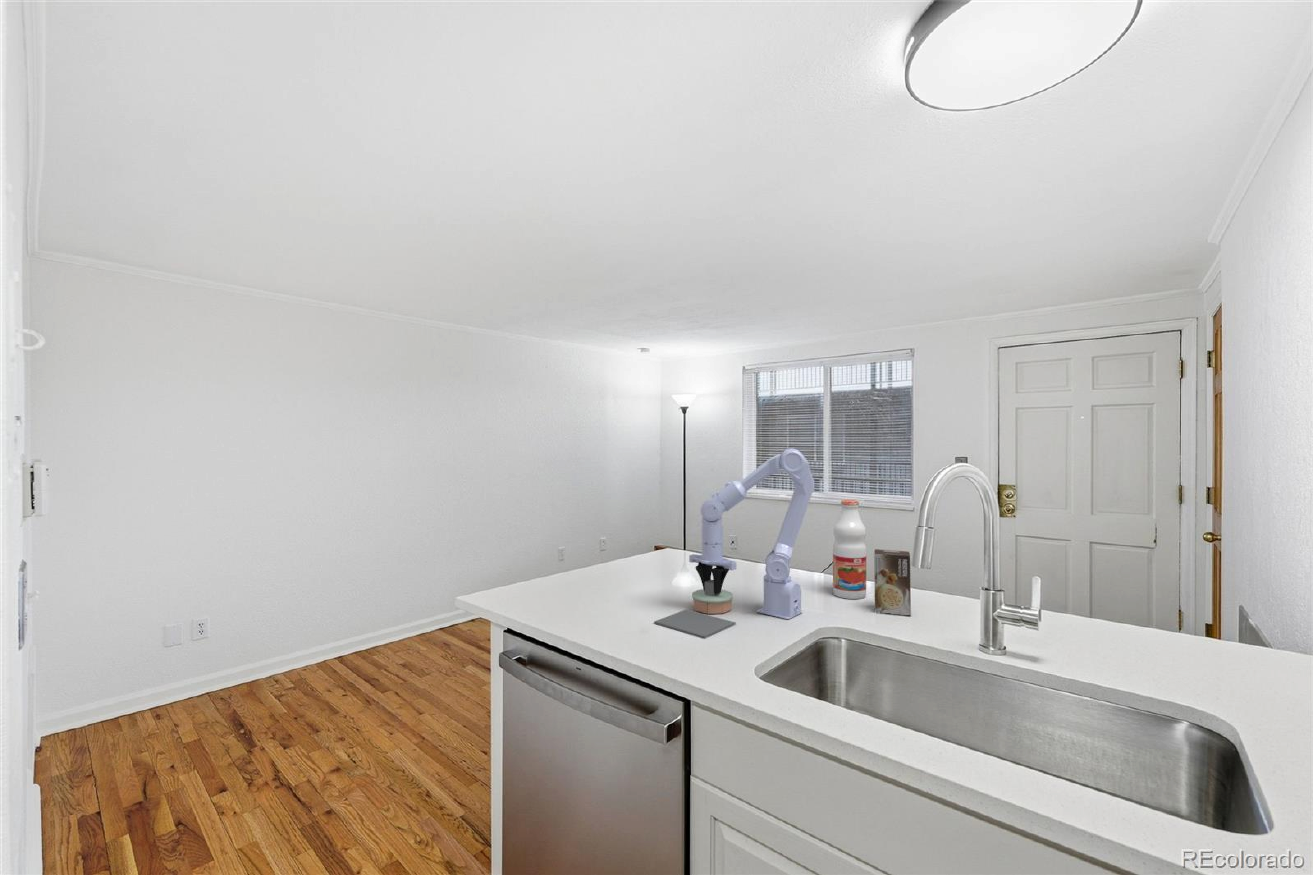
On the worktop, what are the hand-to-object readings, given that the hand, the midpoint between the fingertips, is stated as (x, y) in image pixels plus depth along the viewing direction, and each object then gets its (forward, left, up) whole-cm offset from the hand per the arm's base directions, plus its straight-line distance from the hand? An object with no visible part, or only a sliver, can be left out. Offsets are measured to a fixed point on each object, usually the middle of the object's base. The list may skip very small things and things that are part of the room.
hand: (712, 592), depth 162 cm
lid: (0, 0, -1) cm, 1 cm away
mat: (-4, +13, -5) cm, 14 cm away
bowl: (0, 0, -5) cm, 5 cm away
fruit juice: (-23, -37, -5) cm, 44 cm away
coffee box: (-38, -30, -5) cm, 49 cm away
